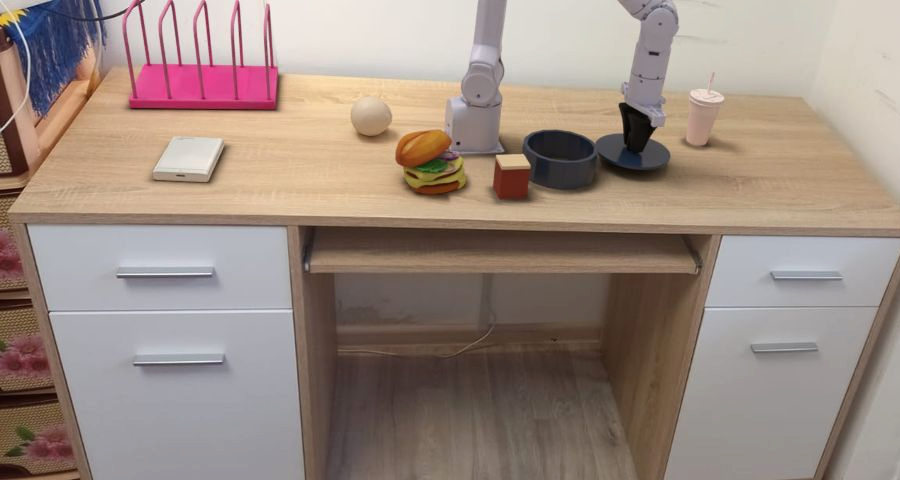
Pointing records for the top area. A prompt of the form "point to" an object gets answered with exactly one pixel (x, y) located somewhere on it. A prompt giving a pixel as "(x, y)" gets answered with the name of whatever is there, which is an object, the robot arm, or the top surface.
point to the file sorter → (202, 73)
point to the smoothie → (702, 113)
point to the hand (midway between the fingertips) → (633, 148)
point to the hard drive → (189, 159)
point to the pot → (559, 171)
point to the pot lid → (621, 155)
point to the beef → (511, 176)
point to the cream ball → (370, 116)
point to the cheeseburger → (430, 162)
